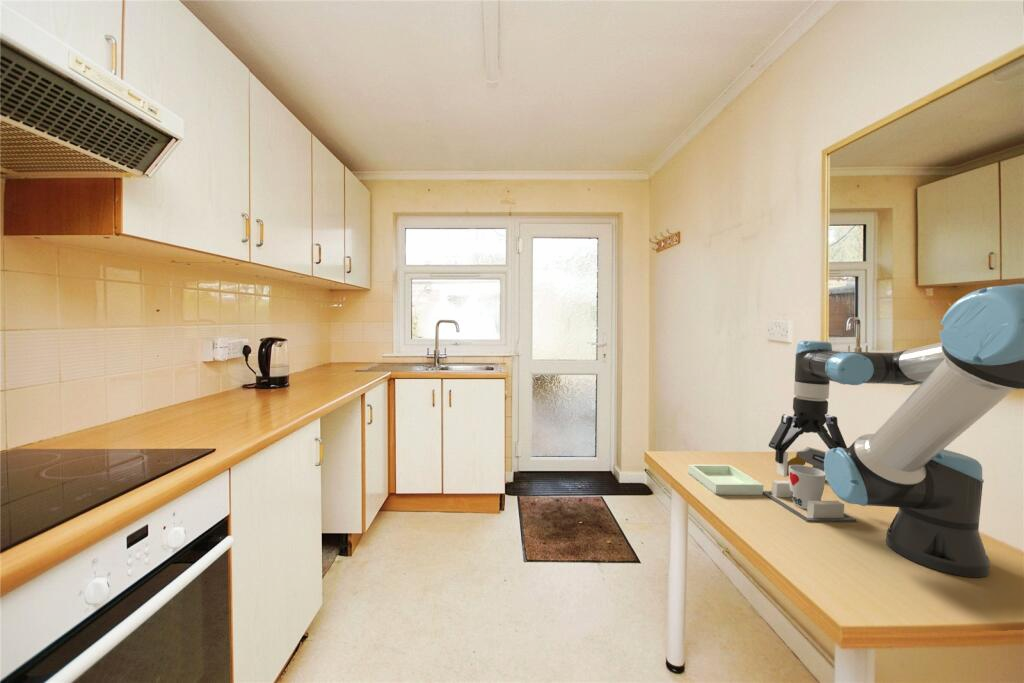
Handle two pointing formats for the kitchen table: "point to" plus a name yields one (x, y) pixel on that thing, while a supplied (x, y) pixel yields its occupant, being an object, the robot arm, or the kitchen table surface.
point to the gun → (808, 458)
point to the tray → (725, 480)
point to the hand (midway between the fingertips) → (805, 474)
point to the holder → (811, 506)
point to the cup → (805, 484)
